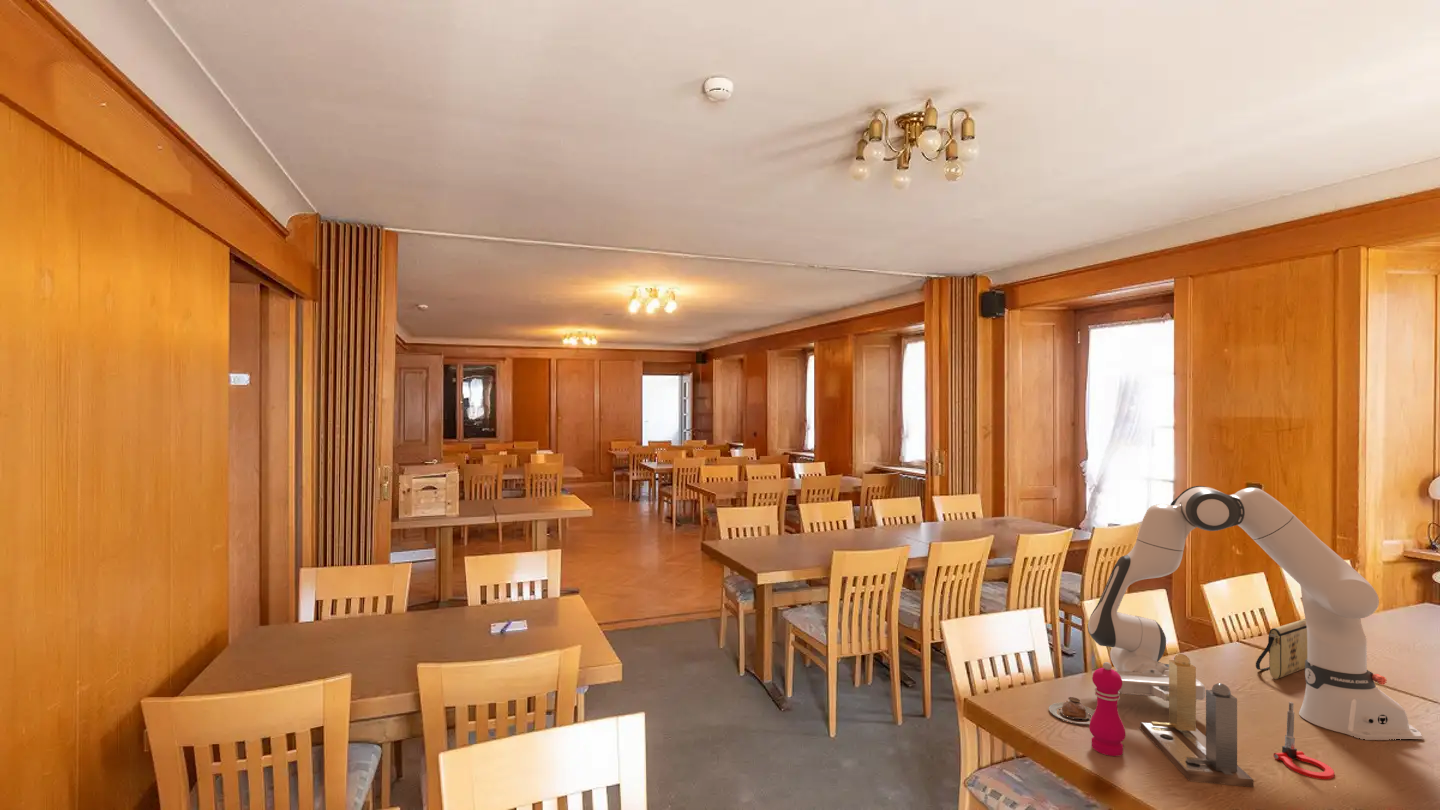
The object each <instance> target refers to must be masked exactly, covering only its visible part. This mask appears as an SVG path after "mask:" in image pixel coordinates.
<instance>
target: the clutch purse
mask: <svg viewBox="0 0 1440 810" xmlns="http://www.w3.org/2000/svg"><path fill="white" fill-rule="evenodd" d="M1267 642H1268V643H1267V645H1266V647H1265V648H1264V649H1263V651H1262V653H1261V654H1260V655H1259V656H1258V658H1257V659H1256V661H1255V668H1256V670H1260V671H1264V670H1269V673H1270V676H1271V678H1273V679H1274V680H1279V679H1280V678H1283V677H1286V676H1288V675H1291V674H1293V673H1297V672H1298V671H1302V670H1305V660H1306V659H1307V625H1306V619H1305V618H1303V619H1300V620H1297V621H1292V622H1290V623H1286V624H1283V625H1280V626H1277V627H1274V628H1273V627H1272V628H1271V629H1270V630H1269V633H1268V641H1267ZM1267 654H1269V657H1268V658H1269V661H1268V662H1269V667H1268V666H1267V667H1264V668H1261V666H1260V665H1261V662H1262V660H1264V658H1265V656H1266V655H1267Z"/></svg>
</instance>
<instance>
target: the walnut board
mask: <svg viewBox="0 0 1440 810" xmlns="http://www.w3.org/2000/svg"><path fill="white" fill-rule="evenodd" d="M1142 723H1147V722H1144V721H1140V723H1139V728H1141V729H1140V730H1141V731H1142V732H1143V733H1144V734H1145V735H1146V736H1147V737H1148V738H1149V739H1150V740H1151V742H1152V743H1153V744H1154V745H1155V746H1156V747H1157V748H1158V749H1159V750H1160V751H1161V753H1162V754H1163V755H1164V756H1166V758H1167V759H1168V760H1169V761H1170V762H1171V763H1172V764H1173V765H1174V766H1175V767H1176V768H1177V770H1178V771H1180V773H1181V774H1182V775H1183V776H1184V777H1185V778H1186V779H1187V780H1188V782H1198V783H1206V784H1207V783H1208V784H1216V785H1217V784H1219V785H1228V786H1229V785H1230V786H1239V787H1240V786H1241V787H1247V788H1248V787H1250V788H1251V787H1252V788H1254V787H1255V786H1254V781H1255V780H1254V778H1252V777H1251V776H1250V775H1249V773H1247V772H1246V771H1245V770H1243V769H1242V768H1241V767H1240V766H1239V765H1238V764H1237V773H1235V772H1231V773H1232V774H1233V775H1225V774H1224V773H1223V772H1222V771H1216V770H1215V769H1214V768H1213V767H1212V766H1211V765H1206V766H1207V767H1208V768H1209V769H1210V770H1211V771H1212V772H1213V774H1211V773H1201V772H1190V771H1186V770H1185V769H1184V768H1183V767H1182V766H1181V765H1180V763H1179V762H1178V761H1177V760H1176V759H1175V758H1174V757H1173V756H1172V755H1171V754H1170V753H1169V752H1168V751H1167V750H1166V749H1165V748H1164V747H1163V746H1162V745H1161V743H1160V742H1159V741H1158V740H1157V739H1156V738H1155V737H1154V736H1153V735H1152V734H1151V733H1150V732H1149V731H1148V730H1147V729H1146V728H1145V727H1144V726H1143V724H1142ZM1168 728H1169V729H1170V730H1171V731H1172V732H1173V733H1174V734H1175V735H1176V736H1177V737H1178V738H1179V739H1180V740H1181V741H1182V742H1183V743H1184V744H1185V745H1186V746H1187V747H1188V748H1189V749H1190V750H1191V751H1192V752H1193V753H1194V754H1195V755H1196V756H1197V757H1198V758H1204V759H1206V756H1205V755H1204V754H1203V753H1202V752H1201V751H1200V750H1199V749H1197V748H1196V747H1195V746H1194V745H1193V744H1192V743H1191V742H1190V741H1189V740H1188V739H1187V738H1186V737H1185V736H1184V735H1183V734H1182V733H1181V732H1180V731H1179V730H1177V729H1176V728H1173V727H1168ZM1186 731H1187V730H1186ZM1187 732H1188V733H1190V734H1191V735H1192V736H1193V737H1194V738H1195V739H1196V740H1197V741H1198V742H1199V743H1200V744H1201V745H1202V746H1203V747H1205V748H1206V735H1205V734H1204V733H1202V731H1200V730H1199V729H1198V728H1197V727H1196V731H1187Z"/></svg>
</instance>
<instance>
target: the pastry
mask: <svg viewBox="0 0 1440 810" xmlns="http://www.w3.org/2000/svg"><path fill="white" fill-rule="evenodd" d="M1059 708H1062V709H1061V710H1059V711H1060V713H1061V715H1062V716H1061V715H1060V714H1059V713H1058V714H1059V715H1058V714H1057V709H1059ZM1048 710H1049V712H1050V713H1051V714H1052V715H1053V717H1056V718H1057V719H1059V718H1060V719H1062V720H1064V721H1063V722H1065V721H1068V722H1067V723H1069V722H1072V723H1071V724H1073V723H1075V724H1074V725H1086V726H1089V724H1090V721H1086V722H1085V720H1089V717H1090V715H1089V714H1091V715H1092V716H1093V714H1094V712H1095V710H1096V709H1095V710H1094V709H1092V708H1091V707H1089V706H1085V705H1084V704H1083V703H1082V702H1081V700H1080V699H1079V698H1078V697H1074V696H1073V697H1071V696H1070V697H1068V700H1065V701H1064V702H1054V703H1052V704H1050V705H1049V707H1048ZM1088 713H1089V714H1088ZM1063 714H1064V715H1063ZM1065 716H1066V717H1065ZM1067 716H1068V718H1067ZM1071 718H1074V719H1073V720H1071ZM1060 719H1059V720H1060ZM1079 719H1082V720H1081V721H1075V720H1079ZM1062 720H1061V721H1062ZM1082 721H1084V722H1082Z"/></svg>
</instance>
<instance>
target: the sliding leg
mask: <svg viewBox="0 0 1440 810" xmlns="http://www.w3.org/2000/svg"><path fill="white" fill-rule="evenodd" d="M1168 664H1169V701H1168V722H1161V721H1151V722H1150V723H1151V724H1152V725H1153V726H1161V727H1173V728H1176V729H1177V730H1187V731H1196V728H1197V699H1196V679H1197V670H1196V669H1197V667H1196V666H1195V665H1193V664H1192V663H1191V659H1190V657H1189V656H1187V655H1186V654H1184V653H1177V654H1176V655H1175V656H1174V658H1173V659H1168Z"/></svg>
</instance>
